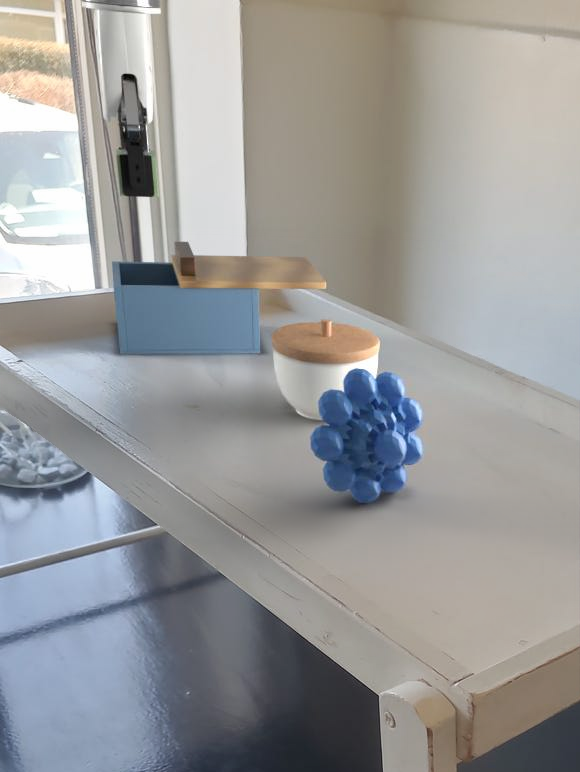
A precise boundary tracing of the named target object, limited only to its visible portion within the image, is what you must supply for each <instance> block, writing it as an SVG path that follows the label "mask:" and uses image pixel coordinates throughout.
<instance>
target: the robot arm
mask: <svg viewBox="0 0 580 772" xmlns="http://www.w3.org/2000/svg"><path fill="white" fill-rule="evenodd" d="M80 4H81V7H82V8H84V9H85V8H86V9H92V10H93V28H94V41H95V42H94V43H95V53H96V62H97V73H98V81H99V90H100V99H101V108H102V117H103V119H104V120H105V121H106V122H107V123H111V118H112V117H113V118H116V117H117V121H118V123H117V126H118V131H119V141H120V147H118V149H120V150H121V151H122V154H119V156H120V166H121V176H122V187H123V194H124V195H125V196H124V197H135V198H136V197H137V198H138V197H139V198H154V197H153V196H154V181H153V169H152V157H151V156H149V151H151V150H150V148H149V139H148V137H149V136H148V125H150V124H151V123H152V122H153V118H154V116H153V115H154V112H153V111H154V74H153V73H154V72H153V56H152V55H153V54H152V43H151V42H152V41H151V40H152V39H151V26H150V15H161V14H162V9H161V0H81V2H80ZM149 14H150V15H149ZM143 152H144V154H143Z"/></svg>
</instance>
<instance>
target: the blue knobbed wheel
mask: <svg viewBox="0 0 580 772" xmlns="http://www.w3.org/2000/svg"><path fill="white" fill-rule="evenodd" d="M343 384H344V392H342V391H341V390H333V389H330V390H328V391H326V392H324V393H323V394H322V396H321V397H320V399H319V401H318V407H319V414H320V416H321V418H322V420H321V421H322V422H324V423H325V424H322V425H320V426H316V427H315V428H314V430H313V431H312V432H311V435H310V437H309V439H310V441H309V442H310V449H311V451H312V452H313V453H312V454H313V455H314V456H315V457H316V458H318V460H321V461H323V462H325V464H324V465H323V468H322V472H323V474H322V475H323V481H324V483H325V484H326V486H327V487H328V488H329V489H331V490H333V492H340V493H344V492H347V491H349V493H350V494H351V496H352V499H354V500H355V501H356V502H358V503H360V504H370V503H372V502H373V503H374V502H375V501H376V500H378V499H379V497H380V496H381V492H382V490H383V491H384V492H386V493H392V494H394V493H398V492H400V491H402V490H403V489H404V488H405V487H406V485H407V481H408V472H407V470H406V467H405V466H413V465H415V464H417V463H419V462H420V460H422V458H423V455H424V454H423V453H424V444H423V441H422V440H421V438H420V436H418V435H417V434H416V433H414V432H415V431H417V430H419V429H420V427H421V426H422V424H423V422H424V421H423V420H424V413H423V409H422V407H421V405H420V403H419V402H418V401H417V400H415V399H414V398H411V397H406V386H405V383H404V382H403V380H402V378H401V377H400V376H398V375H397V373H395V372H388V371H383V372H382V373H379V374H378V375H376V379H375V378H374V376H373V374H371V373H370V372H369V371H367V370H366V369H360V368H355V369H353V370H351V371H349V372H348V373H347V375H346V376H345V378H344V380H343Z"/></svg>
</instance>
